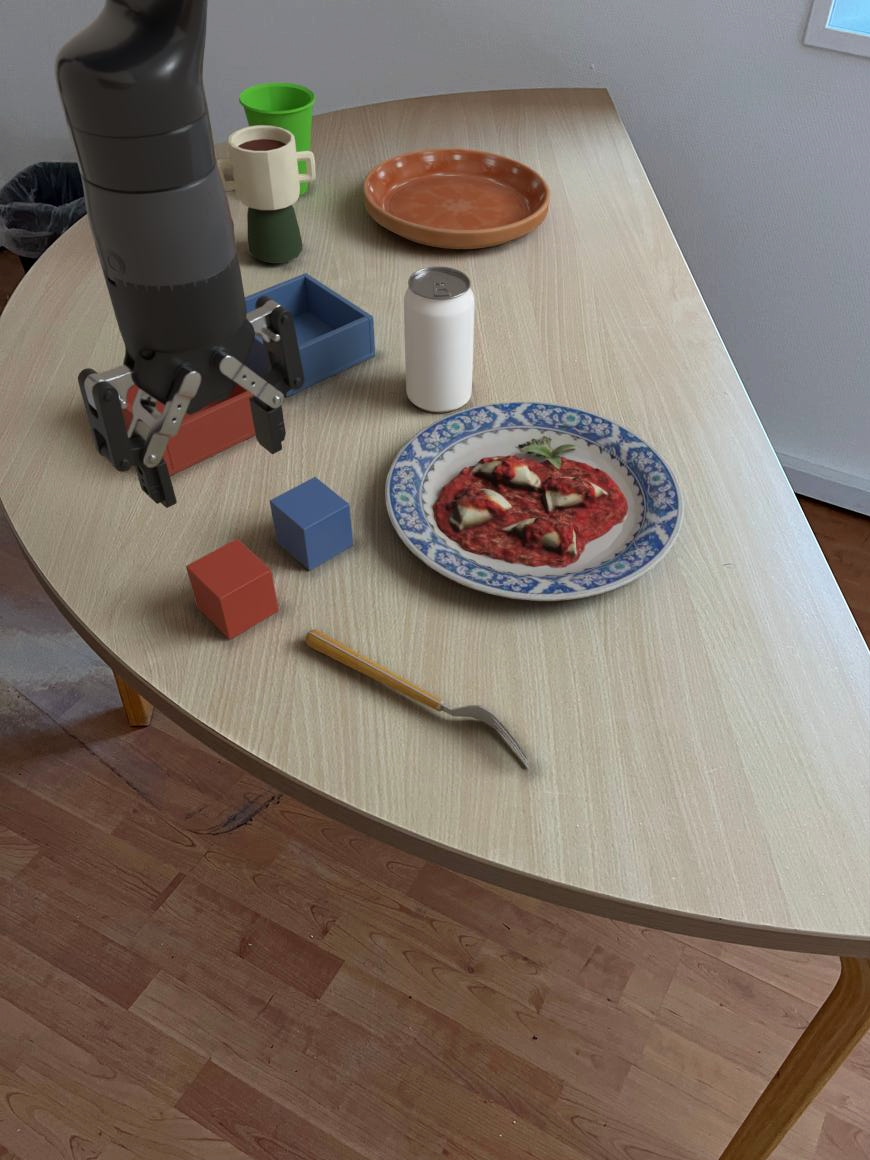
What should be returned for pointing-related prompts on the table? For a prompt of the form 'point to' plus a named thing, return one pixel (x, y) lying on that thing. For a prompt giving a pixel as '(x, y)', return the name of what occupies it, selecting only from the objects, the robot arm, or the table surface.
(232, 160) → the character mug
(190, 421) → the red bin
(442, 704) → the fork
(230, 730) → the table surface
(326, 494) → the blue block
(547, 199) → the saucer
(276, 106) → the cup
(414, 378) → the can
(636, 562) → the ceramic plate
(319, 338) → the blue bin
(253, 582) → the red block
